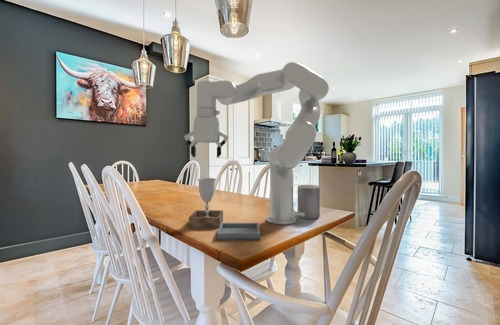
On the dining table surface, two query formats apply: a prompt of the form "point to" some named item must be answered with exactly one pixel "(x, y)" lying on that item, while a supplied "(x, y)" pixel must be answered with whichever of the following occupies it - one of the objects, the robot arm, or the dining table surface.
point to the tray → (238, 231)
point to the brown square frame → (206, 219)
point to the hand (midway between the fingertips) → (206, 157)
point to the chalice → (206, 190)
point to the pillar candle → (309, 201)
